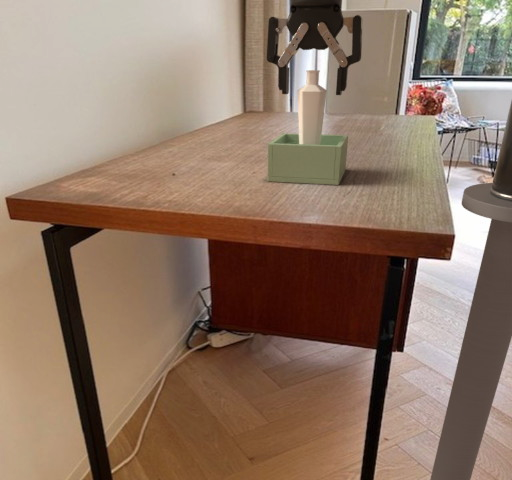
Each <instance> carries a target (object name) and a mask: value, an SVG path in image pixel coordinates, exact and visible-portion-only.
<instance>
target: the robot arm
mask: <svg viewBox="0 0 512 480" xmlns="http://www.w3.org/2000/svg"><path fill="white" fill-rule="evenodd" d="M289 3H290V4H289V5H290V6H289V13H288V17H287V18H279V17H276V16H271V17H269V18H268V24H267V25H268V27H267V42H266V61H267V62H268V63H270V64H273V65H275V66H277V69H278V74H277V75H278V76H277V77H278V80H277V87H278V90H279V91H281V94H282V95H288V94H289V93H290V67H289V64H290V62H291V61H292V60H293V58H294V56H295V55H296V54H297V53H298V52H299V50H300V49H301V50H302V51H311V50H314V49H315V50H316V51H317V50H318V51H326V50H327V49H329V50H330V52H331V54H332V55H333V56H334V58H335V60H336V61H337V63H338V67H337V71H336V73H337V74H336V87H335V96H341V95H342V94H343V92H345V91H346V89H347V86H348V74H349V73H348V72H349V67H350V66H351V65H353V64H356V63H359V62H361V60H362V46H363V45H362V43H363V17H362V16H361V15H360V14H356V15H354V16H345V17H344V15H343V11H342V9H343V0H290V2H289ZM344 26H345V27H346V29H347V32H348V33H349V34H352V35H351V38H352V39H351V54H349V55H346V53H345V51H344V49H343V48H342V46H341V44H340V42H339V41H338V39H337V36H338V35H339V34H340V32H341V30H342V29H343V27H344ZM285 28H287V30H288V31H289V34H290V35H291V37H292V38H291V39H290V41H289V43H288V44H287V46H286V47H285V50H284V51H283V53H282V54H281V55H279V39H280V35H282V34H283V33H284V29H285ZM498 153H499V154H498V158H497V162H496V167H495V171H494V175H493V178H492V183H493V184H492V186H491V189H490V194H491V195H493V196H495V197H497V198H500V199H503V200H507V201H512V100H511V101H510V106H509V109H508V114H507V119H506V122H505V127H504V132H503V136H502V140H501V144H500V149H499V152H498Z"/></svg>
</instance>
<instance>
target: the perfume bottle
mask: <svg viewBox="0 0 512 480" xmlns="http://www.w3.org/2000/svg"><path fill="white" fill-rule="evenodd" d="M305 72H306V83H305V84H304V85H303V86H302V87H300V88H299V89H297V115H298V134H299V144H309V145H320V143H321V135H323V134H322V133H323V125H324V118H325V117H324V116H325V110H326V100H327V93H328V90H327V89H326V88H324V87H323V86H322V85H320V84H319V80H320V72H321V70H319V69H318V70H317V69H310V70H305Z"/></svg>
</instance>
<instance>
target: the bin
mask: <svg viewBox="0 0 512 480" xmlns="http://www.w3.org/2000/svg"><path fill="white" fill-rule="evenodd" d="M348 143H349V135H348V134H322V135H321V143H320V145H309V144H299V133H285V132H284V133H281V134H280V135H278V136H277V137H276V138H274V139H272V140H271V141H269V142H268V143H267V174H266V175H267V182H270V183H272V182H273V183H289V184H291V183H292V184H293V183H294V184H311V185H312V184H313V185H328V186H329V185H332V186H339V184H340V183H341V181H342V178H343V176H344V174H345V172H346V169H347V156H348Z"/></svg>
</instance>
